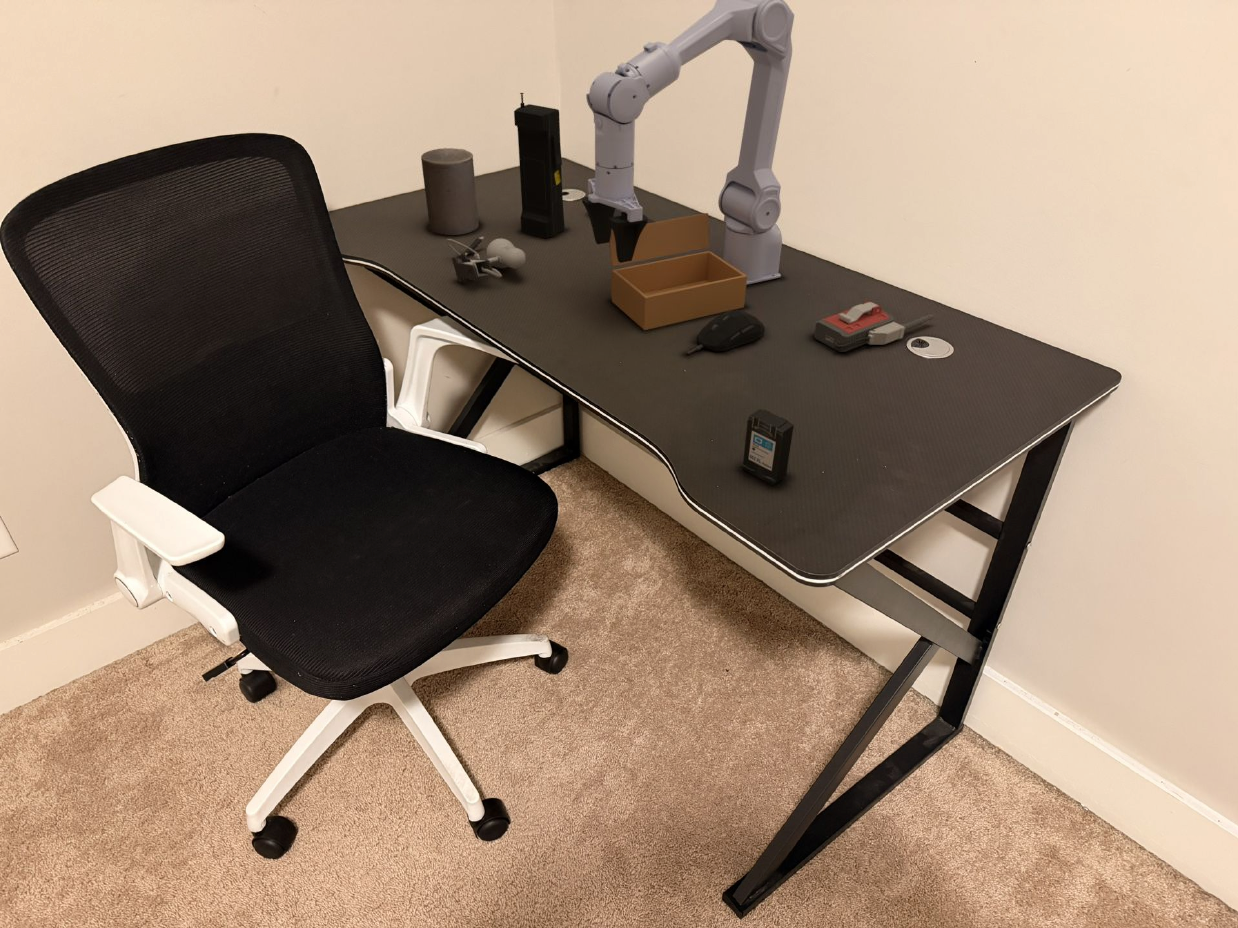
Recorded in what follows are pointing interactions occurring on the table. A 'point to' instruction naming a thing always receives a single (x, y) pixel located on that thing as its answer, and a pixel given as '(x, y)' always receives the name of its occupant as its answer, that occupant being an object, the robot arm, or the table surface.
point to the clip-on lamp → (497, 253)
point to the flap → (668, 238)
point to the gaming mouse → (729, 331)
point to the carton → (678, 289)
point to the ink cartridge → (767, 446)
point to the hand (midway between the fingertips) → (613, 251)
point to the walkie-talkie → (862, 327)
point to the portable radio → (540, 169)
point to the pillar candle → (450, 191)
